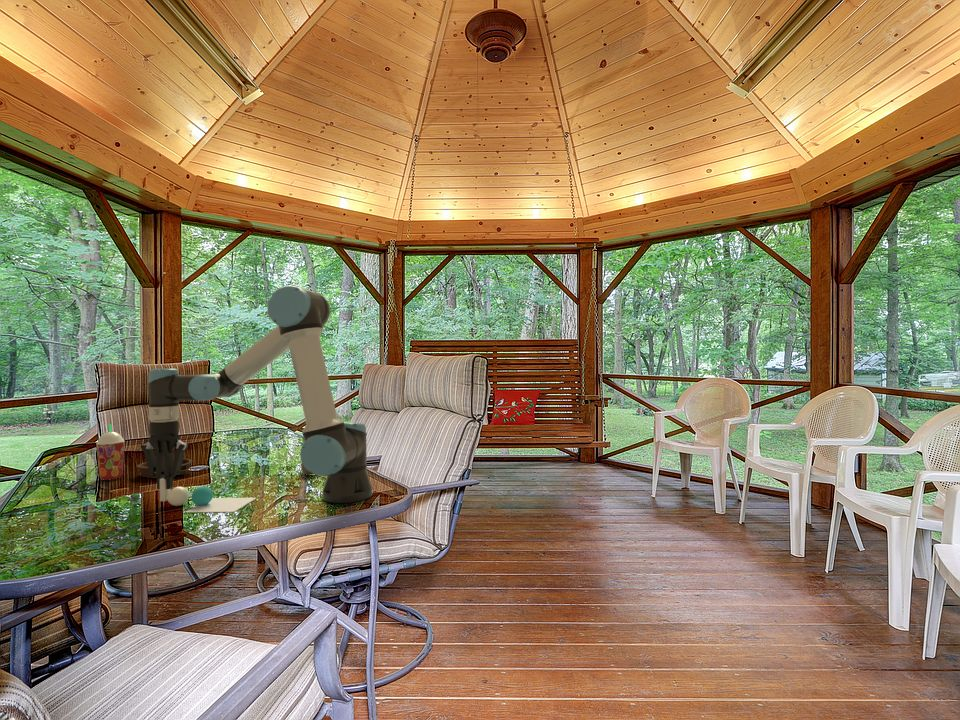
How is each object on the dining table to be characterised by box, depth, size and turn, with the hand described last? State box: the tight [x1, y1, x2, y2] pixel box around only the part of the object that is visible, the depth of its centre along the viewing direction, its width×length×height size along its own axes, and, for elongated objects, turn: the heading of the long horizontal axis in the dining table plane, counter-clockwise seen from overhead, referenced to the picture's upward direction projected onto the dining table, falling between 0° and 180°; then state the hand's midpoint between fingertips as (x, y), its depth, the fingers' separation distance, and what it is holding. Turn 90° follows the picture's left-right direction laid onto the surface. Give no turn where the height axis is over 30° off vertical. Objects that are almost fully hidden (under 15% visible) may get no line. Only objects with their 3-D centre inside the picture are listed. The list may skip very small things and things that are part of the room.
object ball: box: [191, 486, 214, 506], centre depth 146 cm, size 6×6×6 cm
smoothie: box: [96, 424, 125, 480], centre depth 180 cm, size 8×8×20 cm
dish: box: [136, 458, 193, 478], centre depth 186 cm, size 18×22×5 cm
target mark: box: [184, 497, 258, 514], centre depth 146 cm, size 14×14×1 cm
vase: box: [300, 461, 313, 475], centre depth 184 cm, size 7×7×9 cm
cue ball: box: [167, 486, 190, 507], centre depth 146 cm, size 6×6×6 cm
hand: (165, 499), depth 146 cm, fingers closed
